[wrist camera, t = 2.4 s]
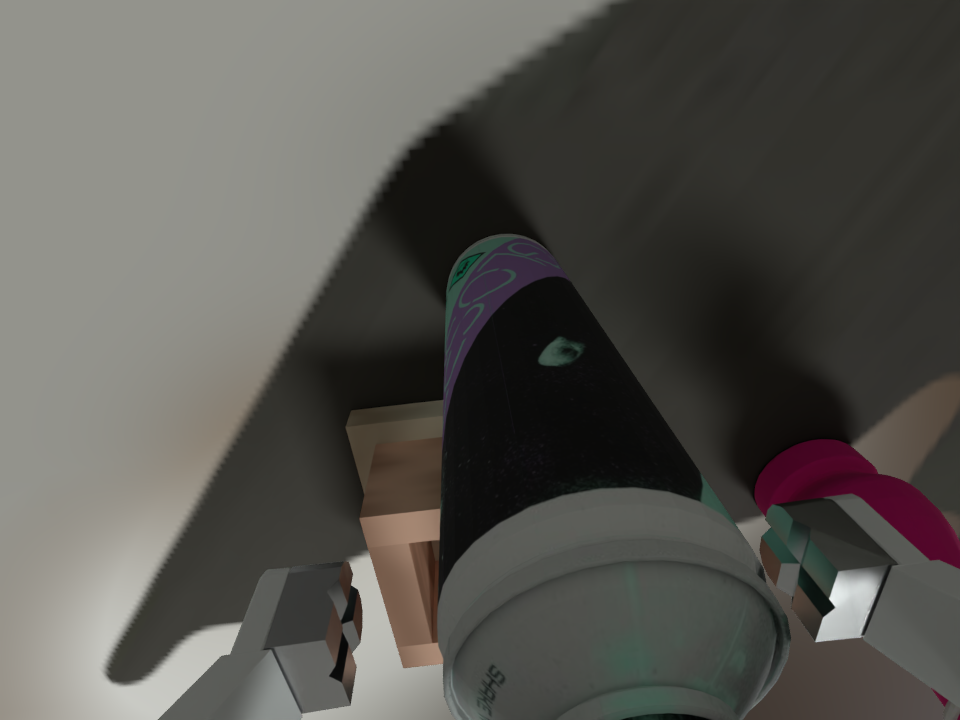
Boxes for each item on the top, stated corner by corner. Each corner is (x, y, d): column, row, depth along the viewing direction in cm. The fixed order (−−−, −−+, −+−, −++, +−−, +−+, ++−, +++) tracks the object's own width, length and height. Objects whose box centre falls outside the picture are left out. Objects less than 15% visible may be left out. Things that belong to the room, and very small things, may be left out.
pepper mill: (735, 529, 31) (1112, 1090, 13) (756, 436, 28) (1294, 1019, 10) (848, 518, 31) (1373, 1062, 13) (882, 424, 28) (1638, 981, 10)
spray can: (517, 207, 21) (847, 706, 4) (584, 300, 23) (998, 900, 6) (422, 283, 23) (316, 920, 5) (493, 364, 25) (599, 1013, 7)
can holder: (599, 381, 26) (642, 462, 20) (597, 556, 32) (630, 657, 26) (351, 410, 26) (322, 498, 20) (396, 579, 32) (383, 685, 26)
